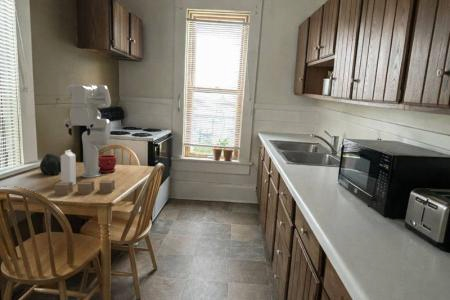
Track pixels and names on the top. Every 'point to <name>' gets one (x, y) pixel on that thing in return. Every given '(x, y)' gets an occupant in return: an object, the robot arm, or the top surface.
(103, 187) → the digit block 7
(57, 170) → the squash
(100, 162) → the plant pot
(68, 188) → the digit block 1
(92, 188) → the plain block
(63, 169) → the milk
